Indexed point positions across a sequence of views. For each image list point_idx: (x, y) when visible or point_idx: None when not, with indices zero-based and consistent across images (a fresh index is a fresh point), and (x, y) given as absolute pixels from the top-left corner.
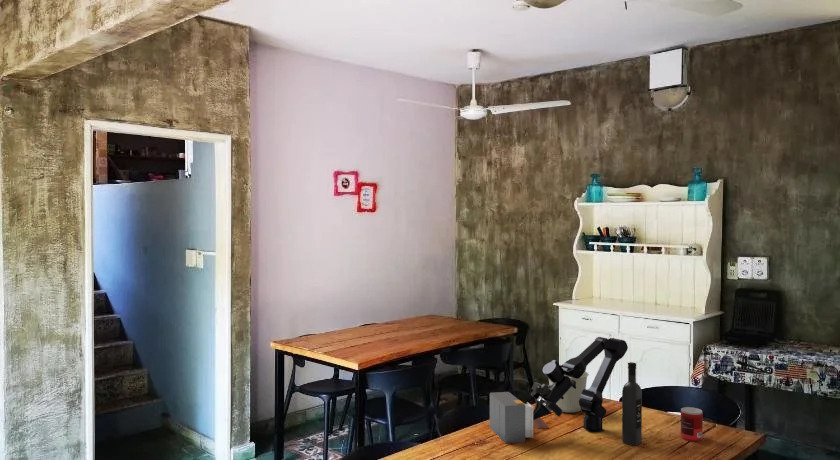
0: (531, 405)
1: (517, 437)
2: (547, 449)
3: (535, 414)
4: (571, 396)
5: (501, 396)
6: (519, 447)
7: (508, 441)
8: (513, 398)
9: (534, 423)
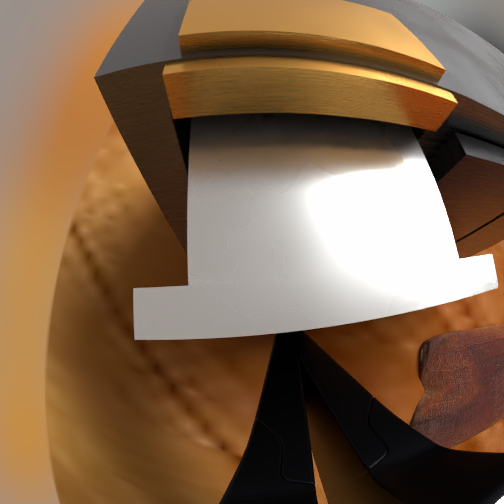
0: (250, 318)
1: None
2: (78, 361)
3: (261, 395)
4: None
5: (491, 55)
6: (128, 223)
7: None
8: (497, 87)
9: (463, 391)
